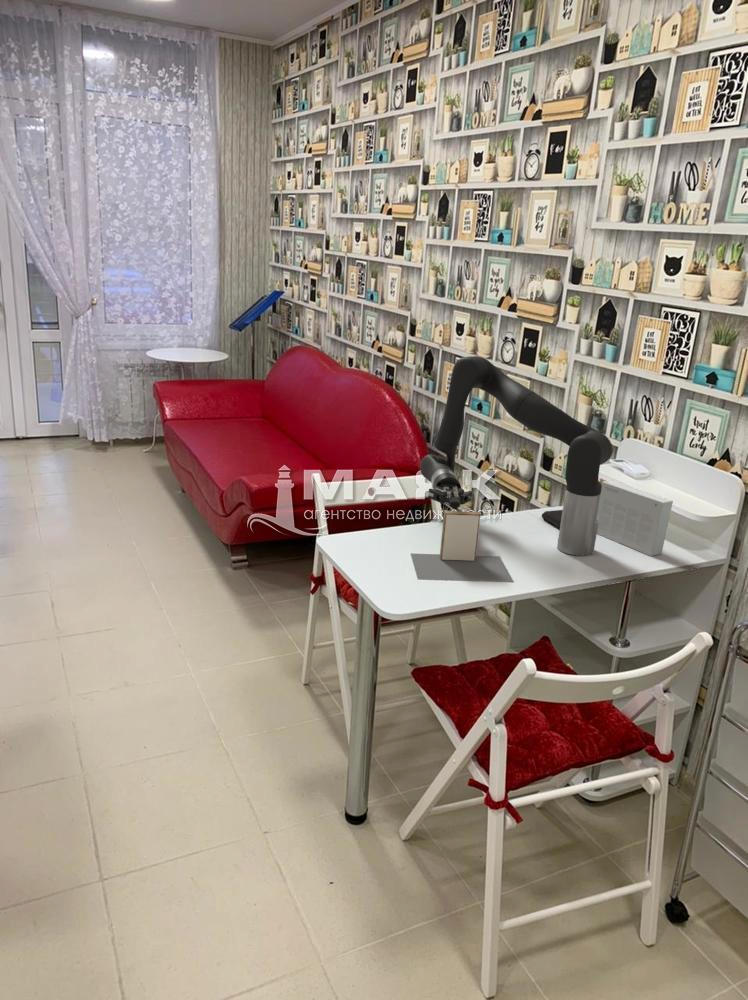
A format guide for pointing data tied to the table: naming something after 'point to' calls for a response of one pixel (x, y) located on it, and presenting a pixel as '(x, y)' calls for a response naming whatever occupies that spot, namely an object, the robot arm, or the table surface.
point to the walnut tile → (459, 535)
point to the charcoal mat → (460, 569)
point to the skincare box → (633, 517)
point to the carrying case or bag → (553, 517)
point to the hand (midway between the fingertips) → (455, 505)
